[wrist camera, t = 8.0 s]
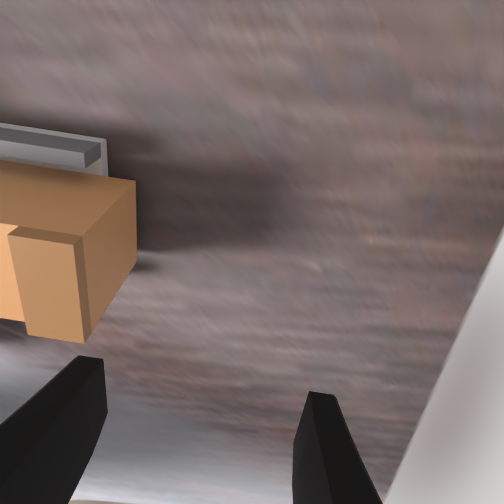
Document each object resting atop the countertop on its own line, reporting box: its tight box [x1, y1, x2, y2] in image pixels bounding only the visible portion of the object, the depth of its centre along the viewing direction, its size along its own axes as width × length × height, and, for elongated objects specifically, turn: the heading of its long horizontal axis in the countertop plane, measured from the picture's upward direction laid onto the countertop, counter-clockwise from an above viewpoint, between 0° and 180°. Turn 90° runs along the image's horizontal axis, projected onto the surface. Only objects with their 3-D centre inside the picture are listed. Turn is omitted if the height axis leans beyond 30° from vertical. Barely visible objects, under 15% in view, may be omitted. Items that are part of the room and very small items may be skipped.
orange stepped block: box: [0, 160, 137, 344], centre depth 15 cm, size 4×8×6 cm, turn 82°
